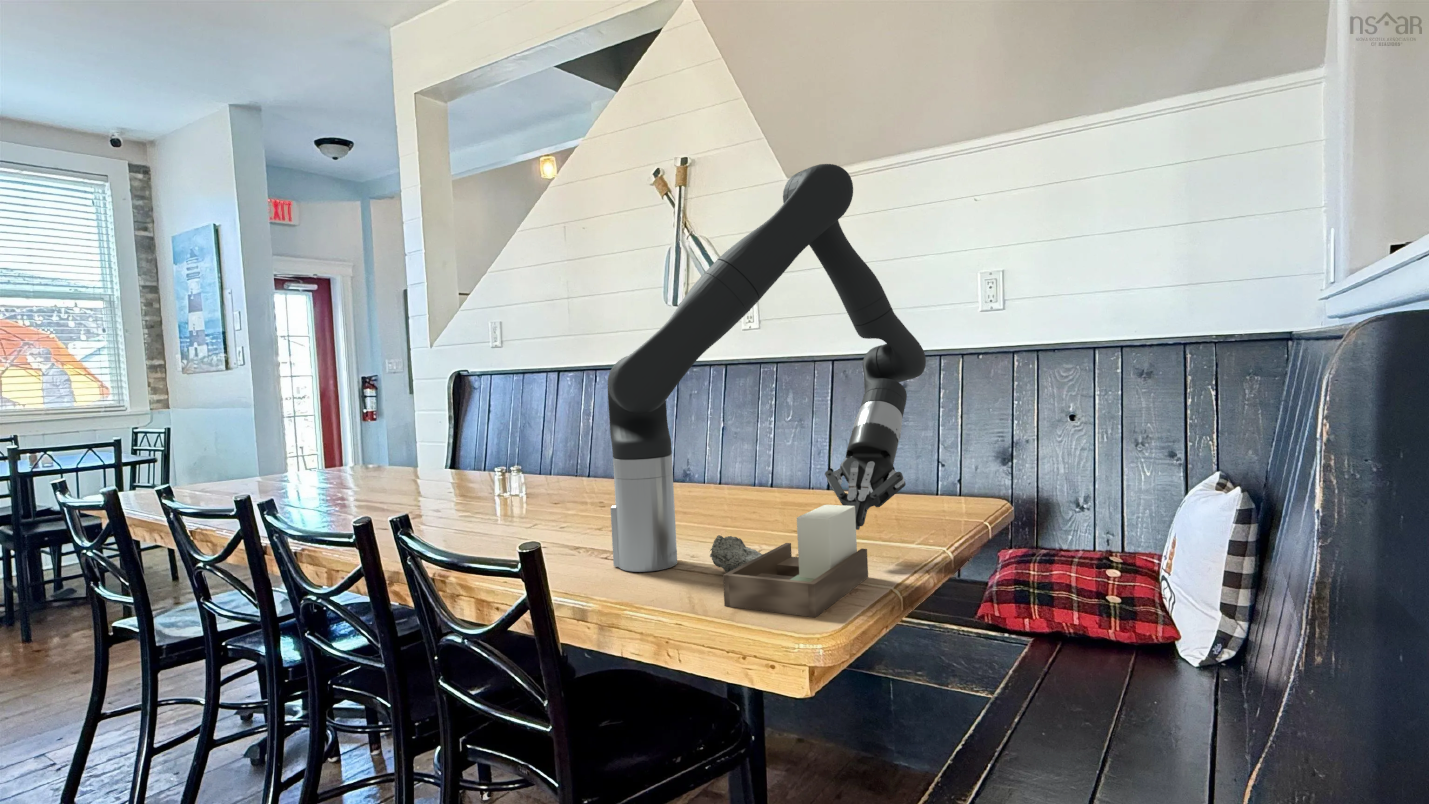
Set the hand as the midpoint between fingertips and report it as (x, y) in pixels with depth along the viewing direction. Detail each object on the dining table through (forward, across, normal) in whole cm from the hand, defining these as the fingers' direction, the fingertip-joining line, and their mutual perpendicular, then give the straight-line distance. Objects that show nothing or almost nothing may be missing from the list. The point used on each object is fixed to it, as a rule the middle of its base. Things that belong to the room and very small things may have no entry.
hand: (852, 526), depth 114 cm
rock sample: (+9, -14, 0) cm, 17 cm away
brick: (+10, 0, -4) cm, 10 cm away
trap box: (+14, -3, -6) cm, 15 cm away
